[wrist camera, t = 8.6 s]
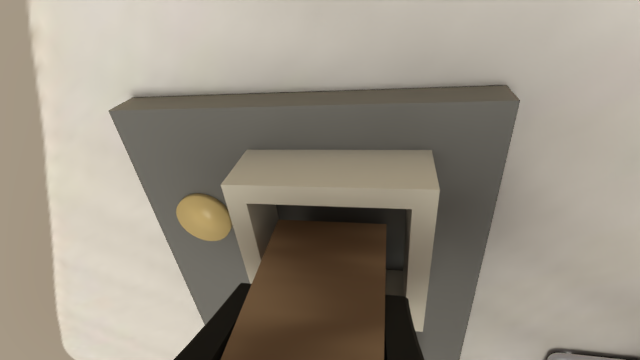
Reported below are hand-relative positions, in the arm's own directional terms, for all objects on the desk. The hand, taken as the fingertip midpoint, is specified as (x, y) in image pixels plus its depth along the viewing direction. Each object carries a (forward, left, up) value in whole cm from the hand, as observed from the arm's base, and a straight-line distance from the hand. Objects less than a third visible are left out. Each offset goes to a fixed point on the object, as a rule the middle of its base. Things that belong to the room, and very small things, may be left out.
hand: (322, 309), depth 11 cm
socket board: (+1, +5, -6) cm, 8 cm away
